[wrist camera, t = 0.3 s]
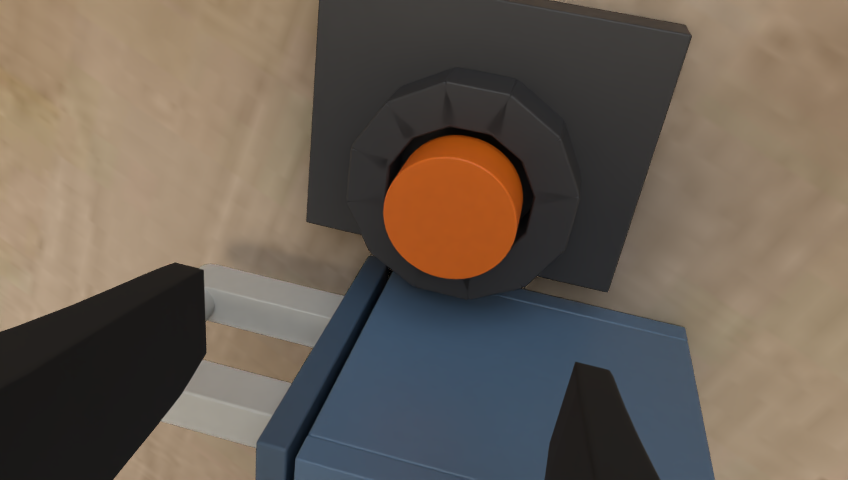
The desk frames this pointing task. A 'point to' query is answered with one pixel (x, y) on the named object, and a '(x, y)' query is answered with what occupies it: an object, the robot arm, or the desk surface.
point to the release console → (494, 121)
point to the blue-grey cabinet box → (495, 388)
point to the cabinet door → (263, 396)
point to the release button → (454, 207)
